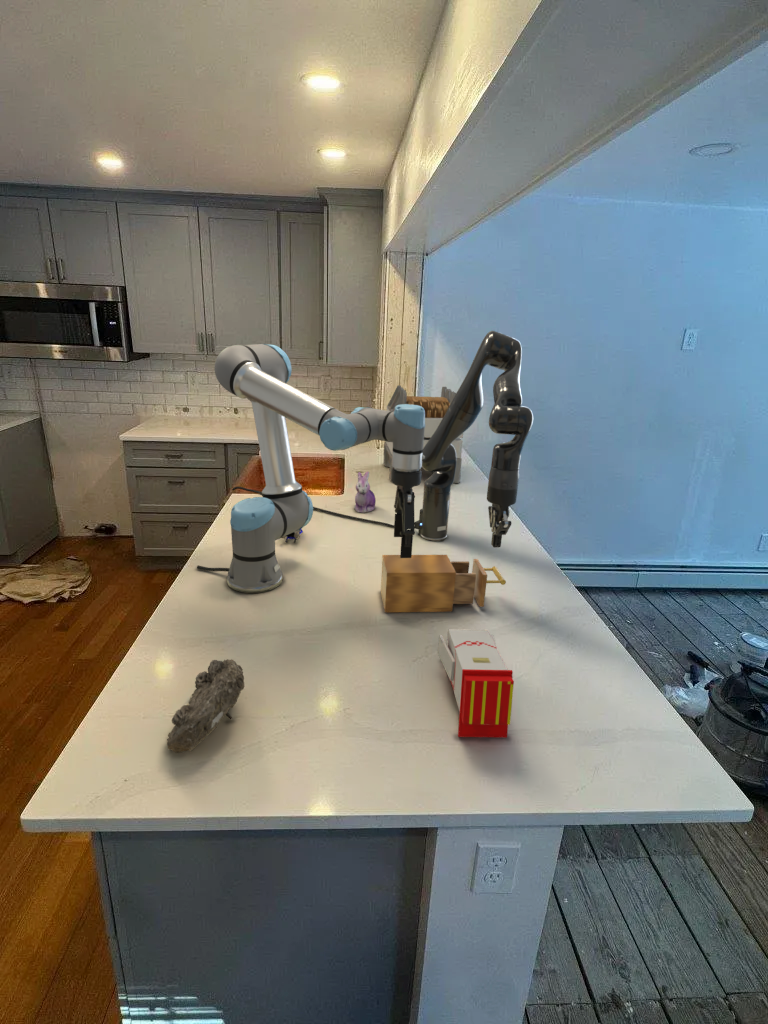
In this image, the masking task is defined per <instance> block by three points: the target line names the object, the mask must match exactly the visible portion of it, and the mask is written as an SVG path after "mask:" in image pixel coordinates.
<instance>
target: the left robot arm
mask: <svg viewBox="0 0 768 1024" xmlns="http://www.w3.org/2000/svg"><path fill="white" fill-rule="evenodd" d="M214 375H215V377H216V380H217V381H218V384H219V385H220V386H221V387H222V388H223V389H224V390H226V391H227V392H229V393H231V395H234V396H236V397H238V398H240V399H242V400H243V399H247V400H248V401H250V403H251V408H252V412H253V418H254V425H255V431H256V437H257V441H258V446H259V452H260V459H261V464H262V470H263V476H264V481H265V486H264V487H263V489H262V491H261V492H262V494H261V495H262V496H254V497H251V498H250V497H248V498H244V499H242V500H239V501H238V502H236V503H235V504H234V505H232V507H231V510H230V520H229V523H230V532H231V533H230V534H231V546H232V547H231V548H232V557H231V559H232V560H231V562H230V565H229V567H207V566H202V565H197V566H196V569H197V570H201V571H205V572H227V577H226V580H227V581H226V582H227V583H226V584H227V585H228V587H229V588H230V589H232V590H234V591H236V592H239V593H245V594H259V593H265V592H269V591H271V590H273V589H276V588H277V587H279V586H280V585H281V584H282V582H283V571H282V569H281V566H280V563H279V561H278V558H277V556H276V541H278V540H280V539H283V538H282V537H284V536H286V535H288V534H290V533H293V532H296V531H299V530H300V529H301V528H302V529H303V528H305V527H306V526H308V524H309V523H310V522H311V520H312V517H313V514H314V509H313V507H314V505H313V501H312V499H311V497H310V496H308V493H307V492H306V491H305V490H303V486H302V484H301V483H299V482H298V481H297V480H296V476H295V470H294V463H293V456H292V450H291V445H290V438H289V432H288V425H287V420H289V421H290V422H293V423H295V424H296V425H298V426H300V427H302V428H303V429H306V430H308V431H310V432H312V433H313V434H315V435H317V436H319V440H320V442H321V443H322V444H323V445H324V447H325V448H326V449H328V450H330V451H333V452H335V451H343V450H345V451H346V450H347V449H351V448H352V447H355V446H359V445H362V444H365V443H368V442H372V441H382V442H386V441H387V442H393V450H392V466H393V468H392V472H391V480H390V482H391V483H392V484H393V485H395V486H396V490H395V498H394V504H393V508H394V523H393V525H394V528H393V538H400V553H399V555H400V557H401V558H411V556H412V555H413V554H412V553H413V539H414V536H415V534H416V531H415V530H416V529H415V522H416V521H415V498H416V495H415V491H414V490H413V488H414V487H417V486H420V485H421V483H422V472H423V471H422V469H421V468H423V467H422V459H424V458H425V456H424V455H423V441H424V430H425V410H424V408H423V407H421V406H419V405H409V404H400V405H397V406H396V407H395V410H394V412H392V411H387V410H385V409H379V408H373V407H369V406H367V407H363V406H358V407H355V408H354V409H353V411H351V412H350V413H345V412H343V411H342V410H339V409H337V408H335V407H333V406H331V405H329V404H328V403H326V402H323V401H322V400H320V399H317V398H315V397H313V396H311V395H310V394H308V393H306V392H304V391H302V390H300V389H298V388H297V387H294V386H292V385H290V384H288V382H290V381H289V380H290V377H291V376H292V362H291V360H290V358H289V356H288V355H287V353H286V352H285V351H284V350H283V348H280V346H278V345H276V344H268V343H256V344H234V345H229V346H227V347H226V348H224V349H222V350H221V351H220V352H219V354H218V355H217V356H216V359H215V362H214Z"/></svg>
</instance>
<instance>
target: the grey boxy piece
mask: <svg viewBox="0 0 768 1024" xmlns="http://www.w3.org/2000/svg"><path fill="white" fill-rule="evenodd" d="M440 393H441V394H440V396H415V395H414V396H413V395H412V396H411V395H407V394H408V393H407V390H406V389H404V388H403V387H402V385H399V384H398V385H397V386H396V388H395V390H394V392H393V394H392V395H391V398H390V400H389V402H388V404H387V405H386V411H392V412H394V410H395V407H396V406H397V405H400V404H409V405H419V406H421V407H423V408H424V410H425V430H424V441H423V448H424V447H425V445H426V444H427V442H428V441H429V439H430V438H431V437H432V435H433V434H434V432H435V431H436V429H437V427H438V426H439V424H440V422H441V420H442V419H443V417H444V415H445V413H446V412H447V410H448V408H449V405H450V403H451V402H452V400H453V398H454V396H455V395H456V393H457V392H455V391H453V390H452V389H451V388H447V386H442V387H441V392H440ZM463 438H464V433H462V434H461V435H460V436H459V437H457V438H456V439H455V440H454V441H453V442H452V443H451V444H452V445H453V446H454V448H455V450H456V455H457V461H456V469H455V476H454V482H453V484H455V483H456V484H459V483H461V472H462V461H463V460H462V453H463V442H464V441H463V440H462V439H463ZM392 450H393V442H387V441H383V466H384V467H388V468H389V475H388V476H389V477H388V478H389V480H390V481H391V472H392V468H393V466H392Z"/></svg>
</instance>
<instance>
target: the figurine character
mask: <svg viewBox="0 0 768 1024" xmlns="http://www.w3.org/2000/svg"><path fill="white" fill-rule="evenodd" d="M303 532H304V531H303V528H301V529H300V530H299V531H296V532H293V533H290V534H288V535H286V536H284V537H282V538H281V539H284V542H285V543H288V541H289V540H293V543H294V544H296V543H297V539H298V540H299V538H300V536H301V534H302V533H303Z"/></svg>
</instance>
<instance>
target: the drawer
mask: <svg viewBox="0 0 768 1024" xmlns="http://www.w3.org/2000/svg"><path fill="white" fill-rule="evenodd" d="M450 562H451V564H452V566H453V568H454V570H455V572H456V578H455V588H454V598H453V605H465V604H466V605H473V604H474V599H475V601H476V603H477V605H478V607H482V608H483V607H485V600H486V591H487V584H500V585H502V586H505V585H506V583H507V581H506V580H505V578H504V576H503V574H502V573H501V572H500V570H499V569H498V567H497V566H492V567H483V565H482V563H481V562H480V561H479V558H473V559H472V569H471V572H469V571H470V570H469V569H470V561H464V560H463V561H450ZM487 572H493V574H494V576H495V577H496V579H497V580H496V579H494V580H493V579H492V580H491V579H488V573H487Z"/></svg>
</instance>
